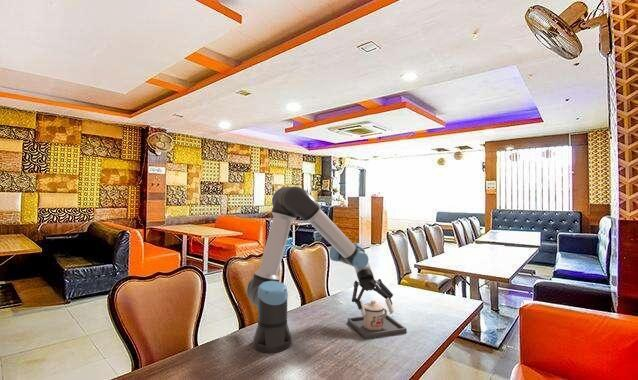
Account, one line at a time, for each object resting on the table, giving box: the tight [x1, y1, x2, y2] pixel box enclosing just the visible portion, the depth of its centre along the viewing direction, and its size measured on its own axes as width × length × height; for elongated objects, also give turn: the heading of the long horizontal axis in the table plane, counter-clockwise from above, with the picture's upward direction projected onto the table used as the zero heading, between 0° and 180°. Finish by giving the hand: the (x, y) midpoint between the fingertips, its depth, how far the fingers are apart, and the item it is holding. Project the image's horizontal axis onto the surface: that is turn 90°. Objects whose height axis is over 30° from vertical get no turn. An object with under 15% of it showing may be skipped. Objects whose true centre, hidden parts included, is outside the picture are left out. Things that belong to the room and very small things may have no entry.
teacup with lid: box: [363, 299, 388, 331], centre depth 142 cm, size 12×9×12 cm
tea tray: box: [347, 313, 407, 340], centre depth 142 cm, size 20×18×2 cm
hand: (378, 314), depth 140 cm, fingers open, 13 cm apart
